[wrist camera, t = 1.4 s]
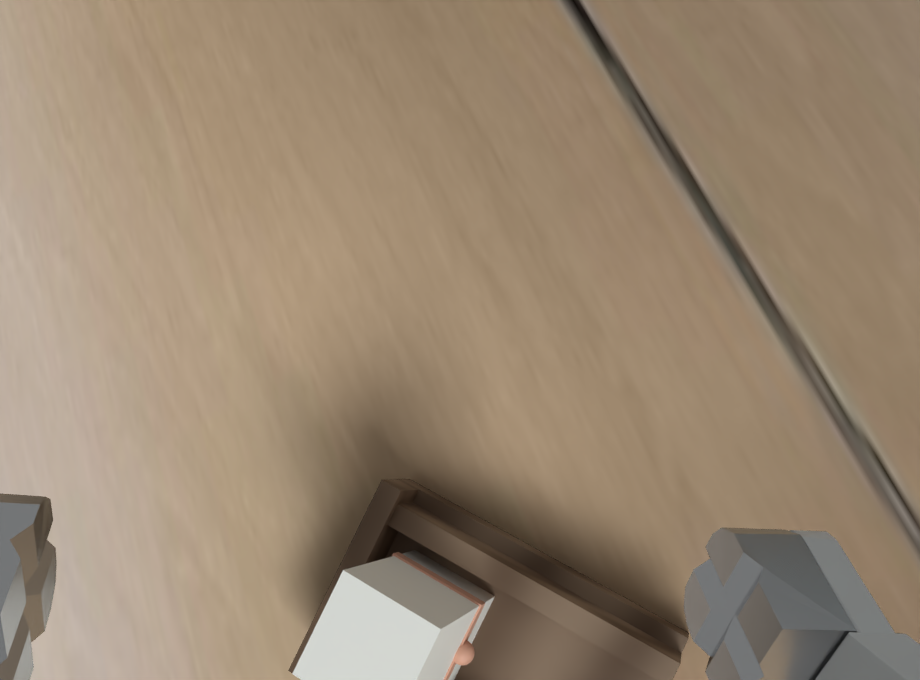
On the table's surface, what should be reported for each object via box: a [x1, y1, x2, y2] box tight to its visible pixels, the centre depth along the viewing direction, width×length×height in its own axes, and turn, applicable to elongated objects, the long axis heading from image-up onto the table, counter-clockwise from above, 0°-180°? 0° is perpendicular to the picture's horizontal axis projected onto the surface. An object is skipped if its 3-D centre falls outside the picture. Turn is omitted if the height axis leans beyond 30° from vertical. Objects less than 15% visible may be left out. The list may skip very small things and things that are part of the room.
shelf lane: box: [288, 479, 689, 680], centre depth 45 cm, size 17×11×4 cm, turn 63°
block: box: [292, 550, 495, 680], centre depth 42 cm, size 6×5×10 cm
